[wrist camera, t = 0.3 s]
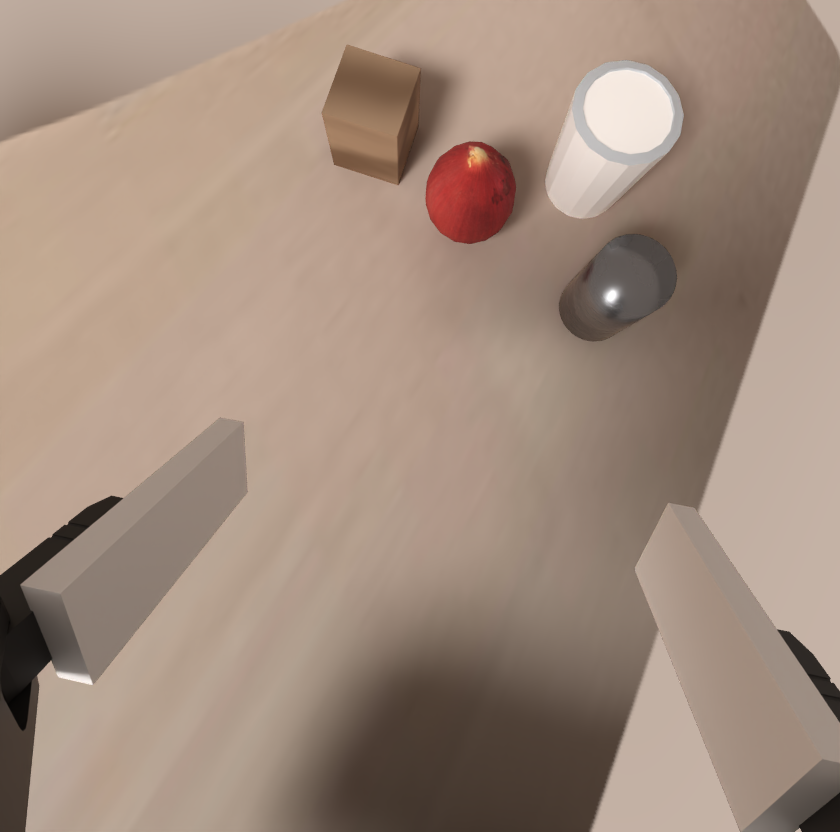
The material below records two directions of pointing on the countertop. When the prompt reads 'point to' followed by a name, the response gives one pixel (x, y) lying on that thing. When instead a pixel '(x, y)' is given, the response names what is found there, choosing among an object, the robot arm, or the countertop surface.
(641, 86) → the white short cylinder
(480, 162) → the onion
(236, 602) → the countertop surface
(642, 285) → the metal tin
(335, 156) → the walnut block
